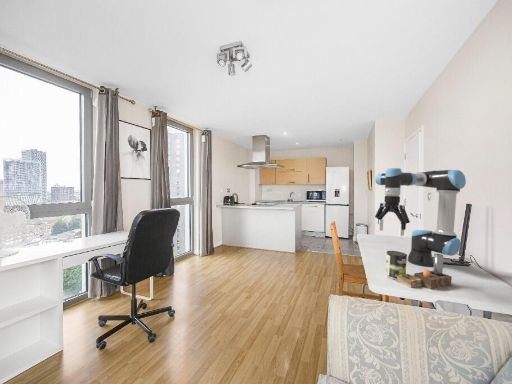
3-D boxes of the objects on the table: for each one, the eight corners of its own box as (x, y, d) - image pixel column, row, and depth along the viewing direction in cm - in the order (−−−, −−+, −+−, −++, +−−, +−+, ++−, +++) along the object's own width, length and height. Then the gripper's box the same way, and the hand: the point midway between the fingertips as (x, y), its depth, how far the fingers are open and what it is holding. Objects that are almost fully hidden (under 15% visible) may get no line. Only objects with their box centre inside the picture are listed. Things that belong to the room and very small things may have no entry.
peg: (435, 281, 129) (437, 253, 129) (443, 284, 125) (445, 255, 125) (430, 281, 128) (432, 253, 127) (438, 284, 124) (440, 256, 123)
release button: (425, 278, 125) (425, 269, 125) (431, 280, 123) (431, 271, 122) (421, 278, 124) (421, 269, 124) (427, 281, 122) (427, 271, 121)
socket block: (433, 278, 132) (433, 270, 132) (451, 285, 124) (451, 276, 123) (413, 282, 127) (414, 273, 127) (430, 289, 118) (431, 279, 118)
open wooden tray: (407, 279, 130) (407, 273, 130) (421, 285, 122) (421, 279, 122) (396, 281, 127) (397, 275, 127) (410, 287, 120) (411, 281, 120)
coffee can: (410, 279, 130) (411, 255, 130) (396, 281, 128) (397, 256, 127) (395, 272, 140) (396, 250, 140) (381, 274, 138) (382, 251, 137)
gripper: (369, 194, 139) (368, 228, 140) (408, 197, 115) (406, 238, 116) (379, 194, 142) (377, 228, 142) (419, 197, 118) (417, 237, 119)
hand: (390, 232), depth 129 cm, fingers open, 13 cm apart
